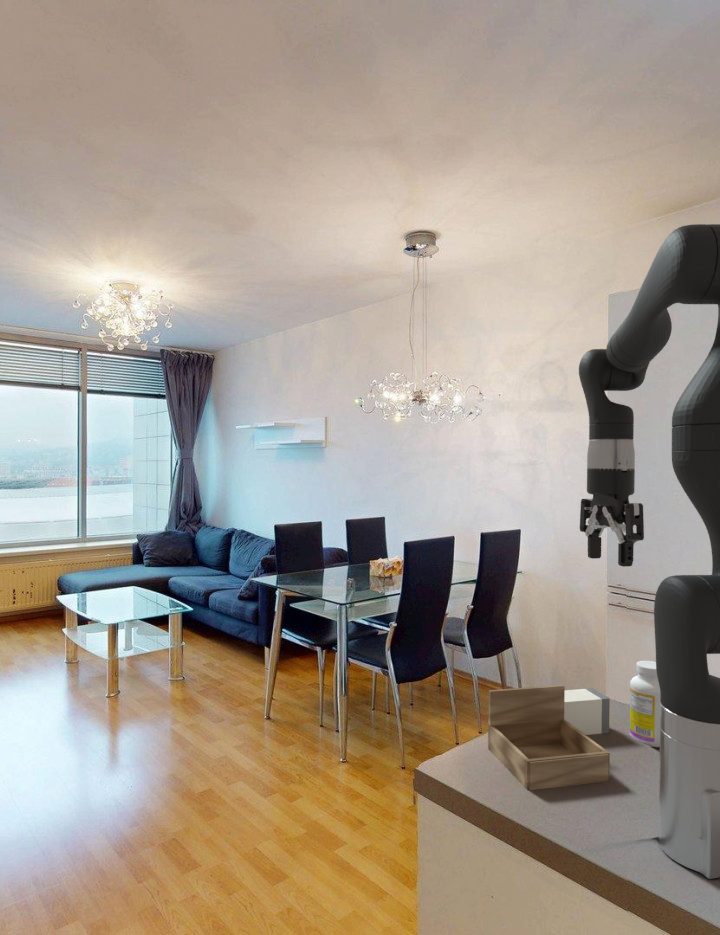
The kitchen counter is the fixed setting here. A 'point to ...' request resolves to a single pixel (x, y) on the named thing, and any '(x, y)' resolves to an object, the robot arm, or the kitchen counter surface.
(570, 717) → the capped box
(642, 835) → the kitchen counter surface
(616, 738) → the kitchen counter surface
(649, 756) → the kitchen counter surface
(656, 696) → the supplement bottle
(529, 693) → the wooden box
